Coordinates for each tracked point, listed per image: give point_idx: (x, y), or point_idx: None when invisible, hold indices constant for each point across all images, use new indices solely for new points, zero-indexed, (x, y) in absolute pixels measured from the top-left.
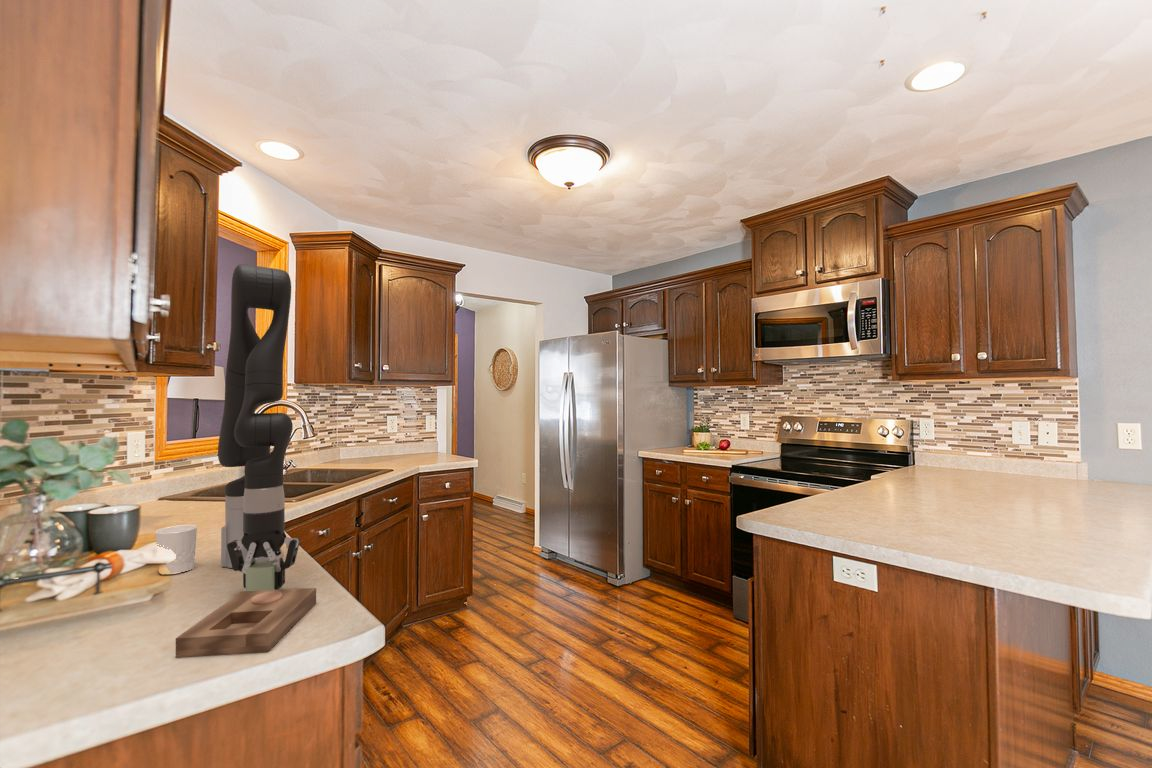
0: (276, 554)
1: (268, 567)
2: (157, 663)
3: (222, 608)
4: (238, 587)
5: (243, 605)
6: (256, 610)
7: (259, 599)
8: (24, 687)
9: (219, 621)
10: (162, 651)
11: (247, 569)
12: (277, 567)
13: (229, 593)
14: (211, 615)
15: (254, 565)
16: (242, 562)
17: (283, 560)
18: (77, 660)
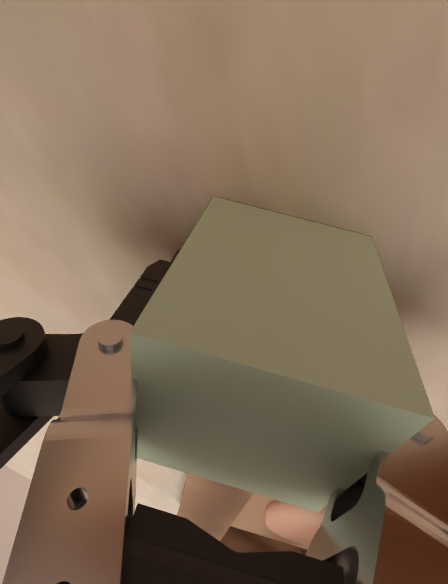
0: (374, 564)
1: (294, 497)
2: (163, 502)
3: (195, 503)
4: (56, 86)
5: (248, 514)
6: (293, 544)
7: (292, 535)
8: (32, 476)
9: (220, 539)
10: (145, 481)
11: (148, 458)
12: (362, 486)
13: (72, 201)
14: (186, 516)
15: (160, 423)
16: (12, 377)
17: (440, 500)
18: (26, 450)
